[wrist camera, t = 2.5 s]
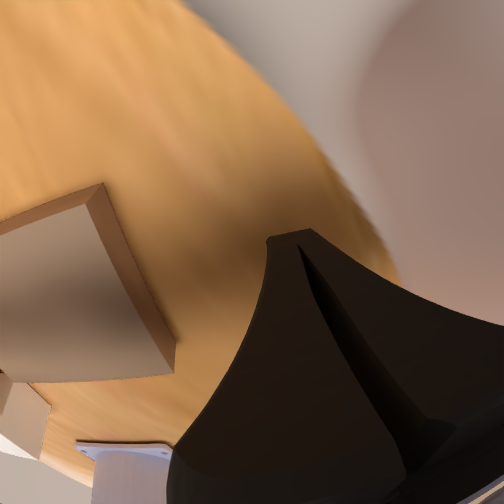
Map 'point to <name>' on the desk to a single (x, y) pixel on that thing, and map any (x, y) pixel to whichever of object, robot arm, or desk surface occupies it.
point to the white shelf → (21, 419)
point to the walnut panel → (76, 297)
